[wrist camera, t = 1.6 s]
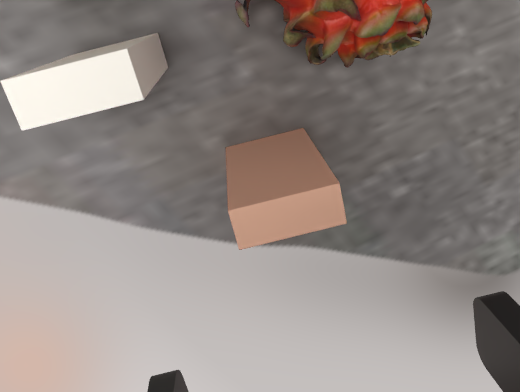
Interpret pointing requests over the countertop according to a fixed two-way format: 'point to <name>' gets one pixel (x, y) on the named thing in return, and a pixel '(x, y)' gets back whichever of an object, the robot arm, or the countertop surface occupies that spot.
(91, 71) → the ivory domino
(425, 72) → the countertop surface
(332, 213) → the terracotta domino
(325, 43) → the dragon fruit
